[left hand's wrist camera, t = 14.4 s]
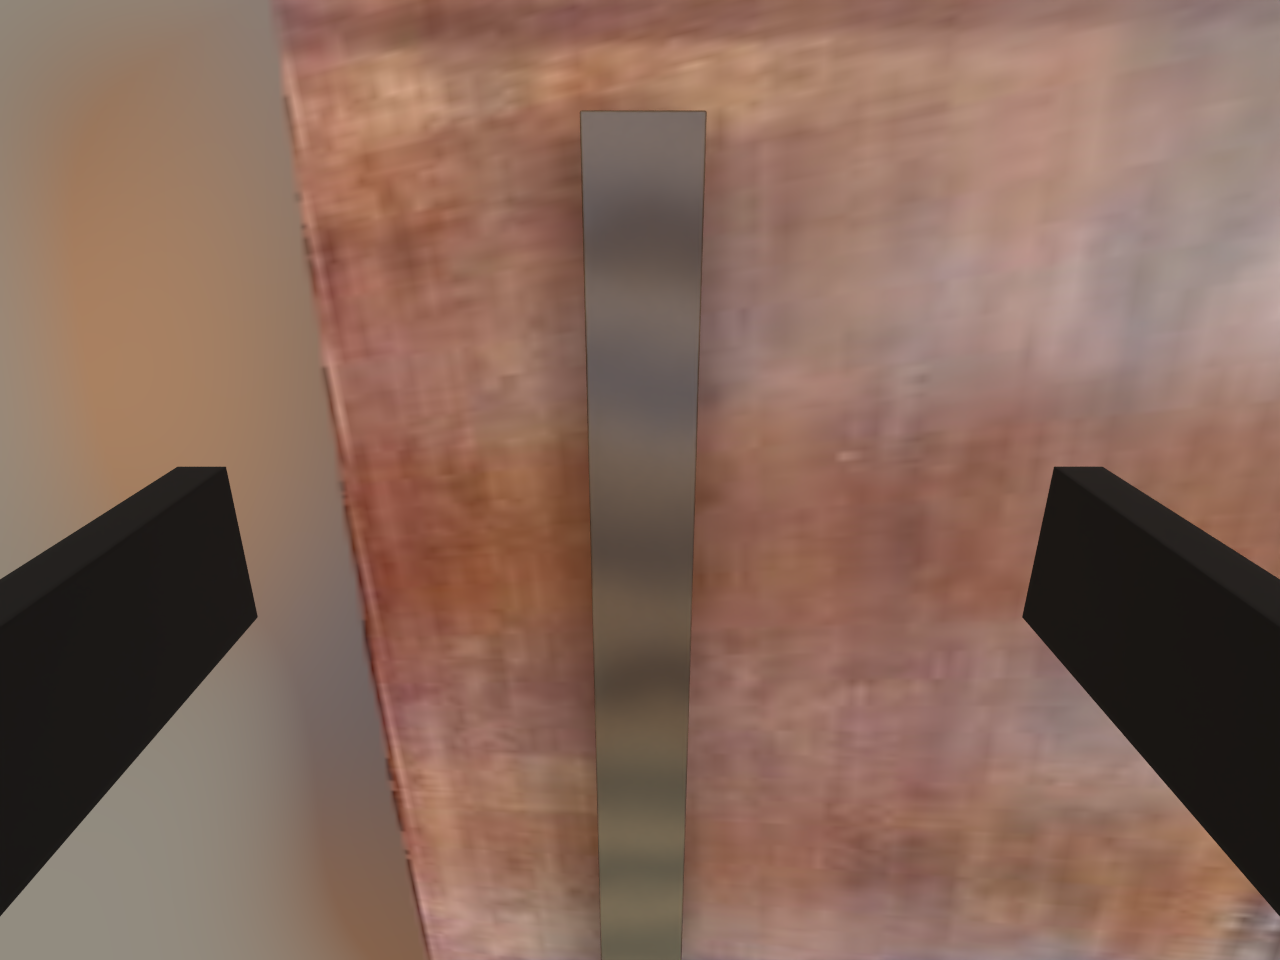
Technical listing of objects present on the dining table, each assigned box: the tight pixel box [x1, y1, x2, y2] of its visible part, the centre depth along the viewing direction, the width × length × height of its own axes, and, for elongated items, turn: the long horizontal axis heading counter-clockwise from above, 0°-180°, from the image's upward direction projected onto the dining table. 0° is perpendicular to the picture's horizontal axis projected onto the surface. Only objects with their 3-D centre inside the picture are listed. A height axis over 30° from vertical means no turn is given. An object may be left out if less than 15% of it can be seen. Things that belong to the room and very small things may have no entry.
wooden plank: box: [580, 111, 707, 960], centre depth 42 cm, size 60×4×8 cm, turn 0°
